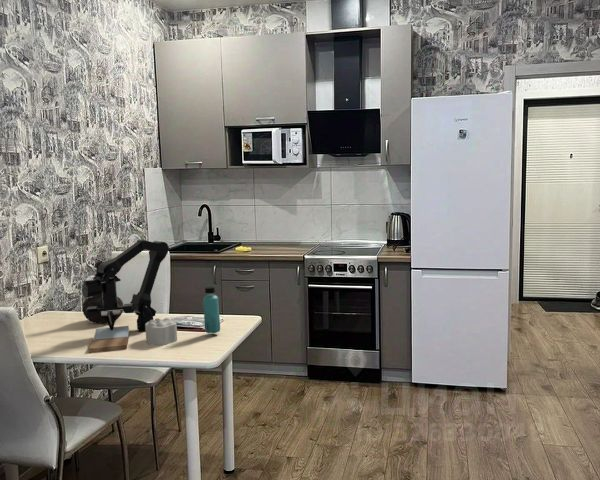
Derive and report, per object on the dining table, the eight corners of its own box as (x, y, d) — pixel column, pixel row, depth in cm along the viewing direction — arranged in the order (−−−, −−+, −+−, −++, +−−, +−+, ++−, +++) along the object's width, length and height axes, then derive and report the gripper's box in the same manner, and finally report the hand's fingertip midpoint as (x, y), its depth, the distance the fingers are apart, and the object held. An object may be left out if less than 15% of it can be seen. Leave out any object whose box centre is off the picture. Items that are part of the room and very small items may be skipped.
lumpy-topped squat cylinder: (159, 346, 225) (158, 325, 224) (139, 341, 233) (138, 320, 232) (180, 340, 233) (179, 319, 232) (160, 335, 241) (159, 315, 240)
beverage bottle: (223, 333, 241) (221, 285, 238) (214, 337, 235) (212, 289, 232) (210, 332, 243) (207, 285, 241) (201, 336, 237) (198, 288, 235)
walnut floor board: (128, 340, 235) (128, 336, 235) (126, 349, 223) (126, 345, 223) (93, 344, 232) (92, 340, 232) (89, 352, 220) (89, 348, 220)
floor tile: (128, 329, 245) (128, 325, 245) (127, 339, 236) (127, 336, 235) (96, 332, 242) (96, 328, 242) (94, 343, 233) (93, 339, 232)
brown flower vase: (82, 320, 272) (77, 261, 269) (121, 315, 280) (117, 257, 277) (85, 328, 256) (80, 266, 253) (127, 323, 264) (122, 262, 261)
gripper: (133, 287, 248) (136, 322, 251) (87, 290, 244) (90, 326, 247) (132, 293, 238) (135, 329, 240) (84, 296, 234) (87, 334, 236)
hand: (112, 329), depth 241 cm, fingers closed, pressing on floor tile
